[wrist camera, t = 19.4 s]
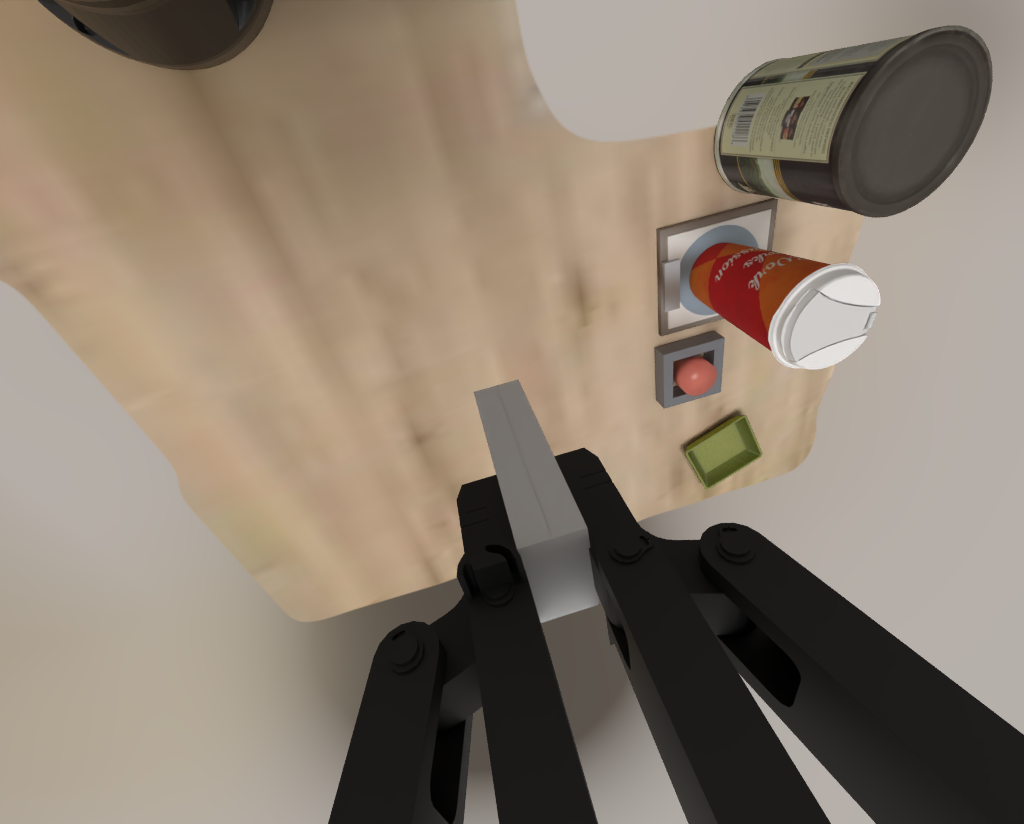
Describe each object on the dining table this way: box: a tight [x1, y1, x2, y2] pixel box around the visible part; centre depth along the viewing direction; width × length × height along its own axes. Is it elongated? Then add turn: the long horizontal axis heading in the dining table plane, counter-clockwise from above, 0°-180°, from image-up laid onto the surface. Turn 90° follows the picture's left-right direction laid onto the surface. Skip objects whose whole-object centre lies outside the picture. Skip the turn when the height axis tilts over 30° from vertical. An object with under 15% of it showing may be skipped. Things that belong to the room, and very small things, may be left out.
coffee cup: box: [689, 243, 881, 369], centre depth 39 cm, size 8×8×15 cm
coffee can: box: [714, 26, 992, 217], centre depth 35 cm, size 10×10×14 cm
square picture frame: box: [657, 198, 778, 336], centre depth 46 cm, size 11×12×1 cm
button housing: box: [655, 331, 725, 408], centre depth 51 cm, size 7×7×2 cm
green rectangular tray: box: [685, 415, 762, 489], centre depth 60 cm, size 9×9×2 cm
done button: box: [673, 354, 717, 396], centre depth 51 cm, size 4×4×3 cm
